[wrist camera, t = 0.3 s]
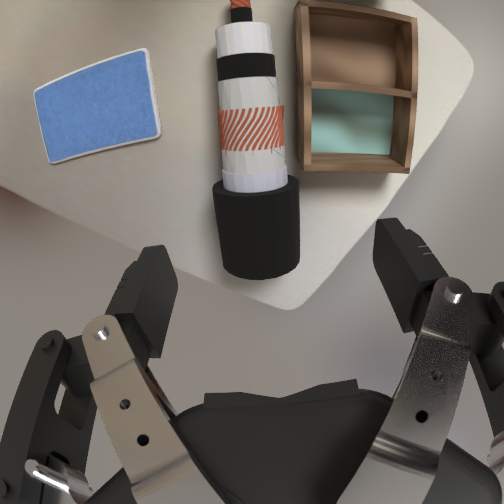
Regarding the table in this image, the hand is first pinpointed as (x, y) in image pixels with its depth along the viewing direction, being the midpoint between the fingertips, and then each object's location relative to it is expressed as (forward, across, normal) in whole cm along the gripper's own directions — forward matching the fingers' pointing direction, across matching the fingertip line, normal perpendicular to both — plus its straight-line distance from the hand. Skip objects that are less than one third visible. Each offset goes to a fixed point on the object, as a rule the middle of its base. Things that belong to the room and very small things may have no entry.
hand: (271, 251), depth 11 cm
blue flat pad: (+29, +22, -6) cm, 37 cm away
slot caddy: (+28, -12, -3) cm, 31 cm away
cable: (+28, +1, 0) cm, 29 cm away
